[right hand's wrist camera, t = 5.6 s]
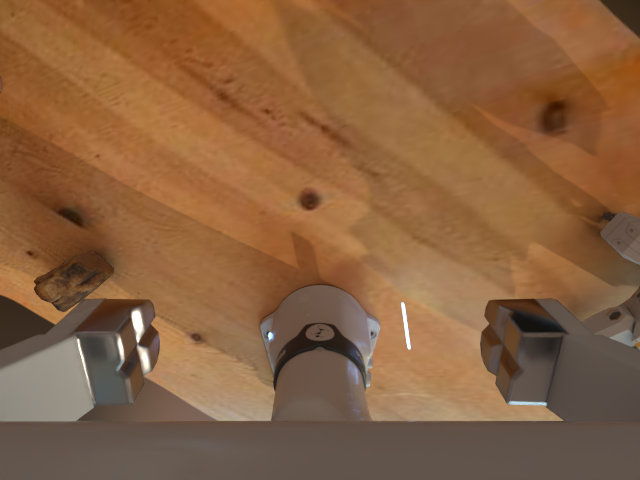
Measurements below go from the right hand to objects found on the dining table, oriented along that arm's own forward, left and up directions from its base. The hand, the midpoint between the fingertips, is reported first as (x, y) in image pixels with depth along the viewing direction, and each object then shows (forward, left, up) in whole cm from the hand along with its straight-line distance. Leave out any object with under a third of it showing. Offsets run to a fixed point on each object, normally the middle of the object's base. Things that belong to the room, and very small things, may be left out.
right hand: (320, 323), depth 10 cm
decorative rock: (-21, +35, -48) cm, 63 cm away
